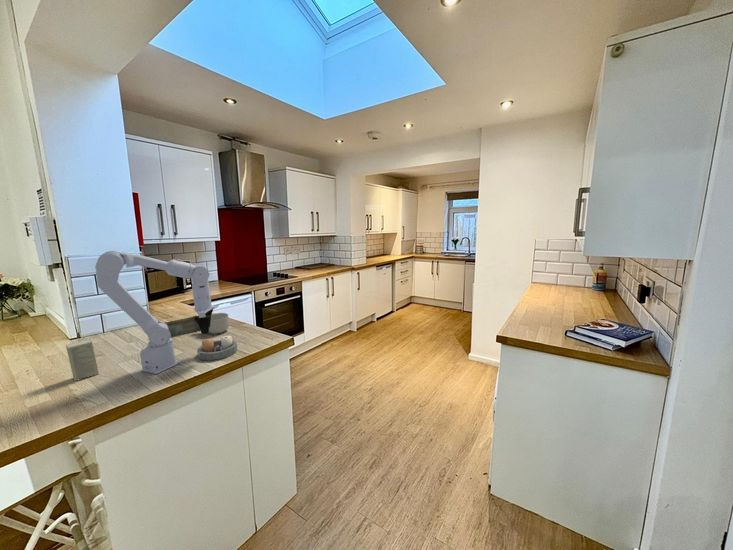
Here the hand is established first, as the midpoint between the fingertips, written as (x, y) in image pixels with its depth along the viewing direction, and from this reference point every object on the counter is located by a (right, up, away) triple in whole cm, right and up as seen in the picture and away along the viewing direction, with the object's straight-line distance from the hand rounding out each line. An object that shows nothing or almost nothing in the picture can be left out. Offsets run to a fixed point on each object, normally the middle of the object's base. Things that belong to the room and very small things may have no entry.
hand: (206, 330), depth 114 cm
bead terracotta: (0, -9, +1) cm, 9 cm away
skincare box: (-34, -13, -13) cm, 39 cm away
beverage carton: (-27, -7, +28) cm, 39 cm away
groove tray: (+3, -9, +3) cm, 10 cm away
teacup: (-11, -6, +27) cm, 30 cm away
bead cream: (+6, -8, +4) cm, 11 cm away
